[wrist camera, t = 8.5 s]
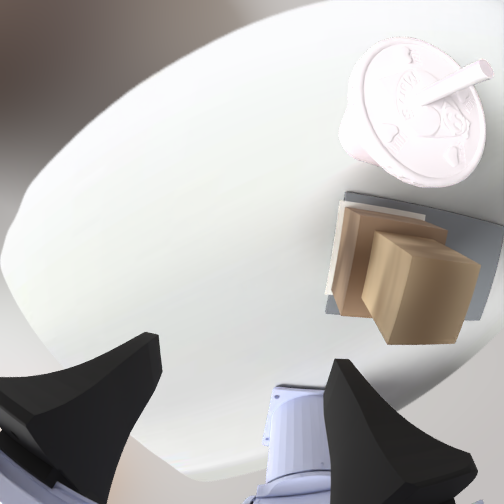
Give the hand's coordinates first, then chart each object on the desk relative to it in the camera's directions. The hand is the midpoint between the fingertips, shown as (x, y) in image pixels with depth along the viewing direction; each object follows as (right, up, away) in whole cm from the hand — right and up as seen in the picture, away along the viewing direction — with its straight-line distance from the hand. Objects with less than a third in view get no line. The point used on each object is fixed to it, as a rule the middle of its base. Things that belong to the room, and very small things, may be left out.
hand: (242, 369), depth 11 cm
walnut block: (+9, +4, +8) cm, 13 cm away
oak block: (+9, +4, +4) cm, 10 cm away
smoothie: (+8, +13, +7) cm, 17 cm away
